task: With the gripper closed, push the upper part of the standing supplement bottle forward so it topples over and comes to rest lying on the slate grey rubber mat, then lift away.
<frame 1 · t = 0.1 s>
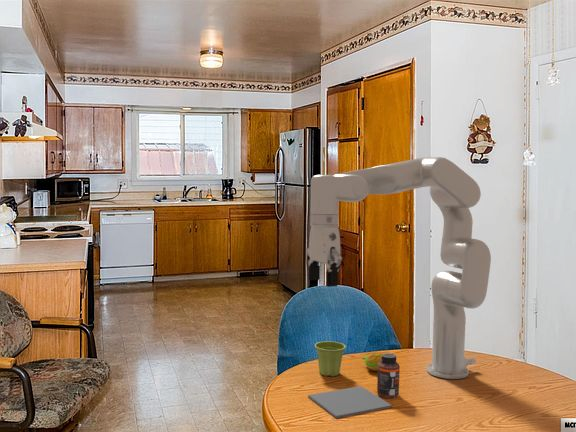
hand: (322, 283, 159), 31 cm above the table, tool pointing down, fingers open, 9 cm apart
supplement bottle: (387, 396, 162), on the table
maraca: (374, 369, 184), on the table
plant pot: (329, 373, 179), on the table
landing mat: (349, 402, 156), on the table
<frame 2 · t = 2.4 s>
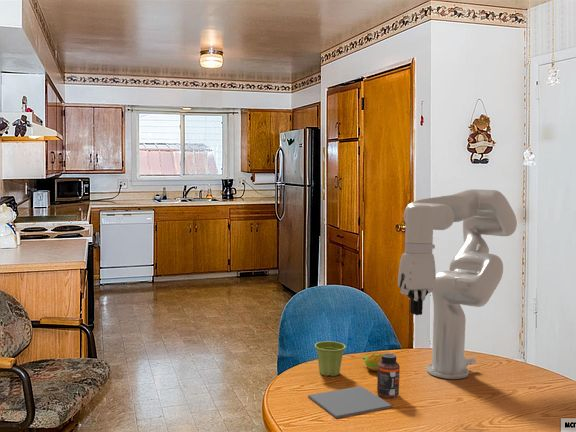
hand: (416, 313, 164), 22 cm above the table, tool pointing down, fingers closed
nothing on the table moved.
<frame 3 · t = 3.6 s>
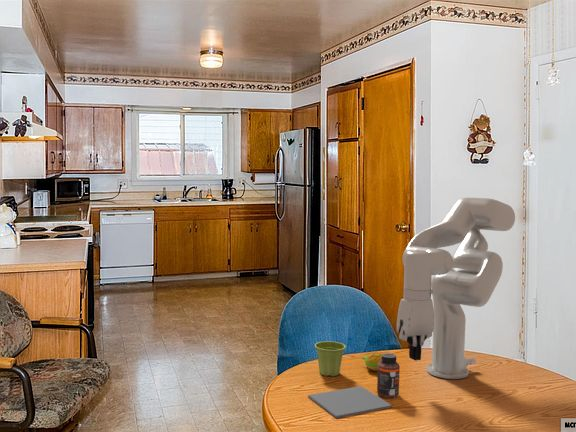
hand: (414, 358, 165), 9 cm above the table, tool pointing down, fingers closed
nothing on the table moved.
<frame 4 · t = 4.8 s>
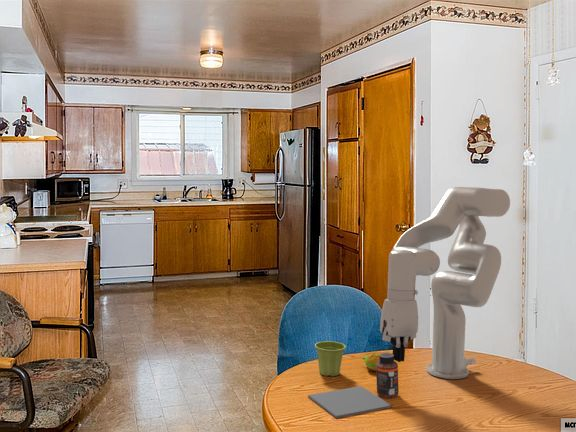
hand: (398, 360, 162), 10 cm above the table, tool pointing down, fingers closed
supplement bottle: (387, 395, 162), on the table, touching gripper
everything else where it was.
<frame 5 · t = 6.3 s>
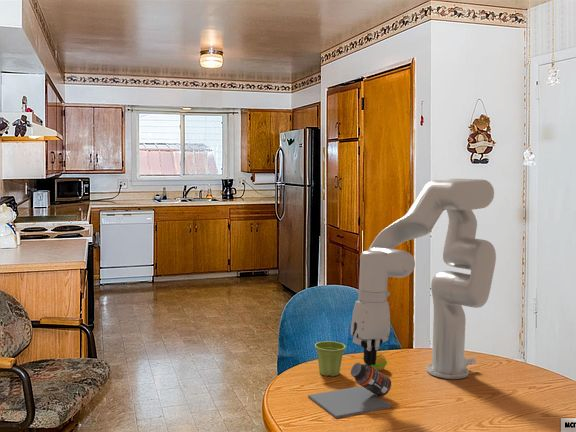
hand: (369, 363, 158), 10 cm above the table, tool pointing down, fingers closed
supplement bottle: (384, 387, 161), point 2 cm above the table, touching gripper
everything else where it was.
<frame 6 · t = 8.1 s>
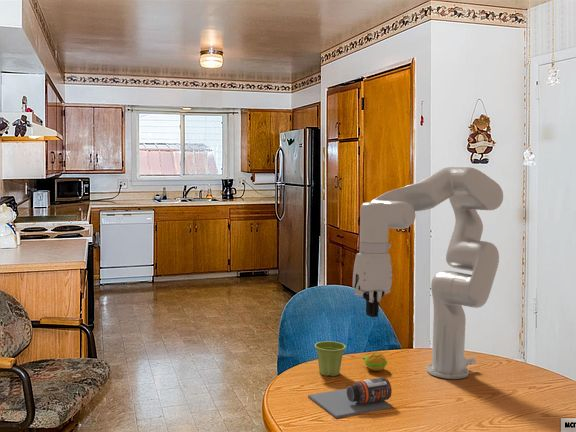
hand: (372, 315, 158), 23 cm above the table, tool pointing down, fingers closed
supplement bottle: (387, 387, 157), point 4 cm above the table, touching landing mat
everything else where it was.
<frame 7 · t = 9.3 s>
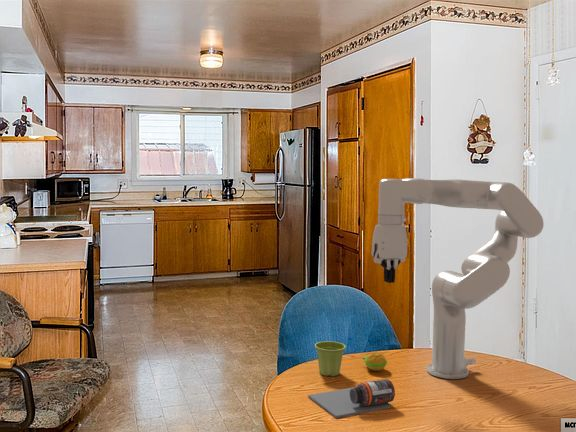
hand: (389, 281, 174), 29 cm above the table, tool pointing down, fingers closed
supplement bottle: (390, 390, 156), point 4 cm above the table, touching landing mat
everything else where it was.
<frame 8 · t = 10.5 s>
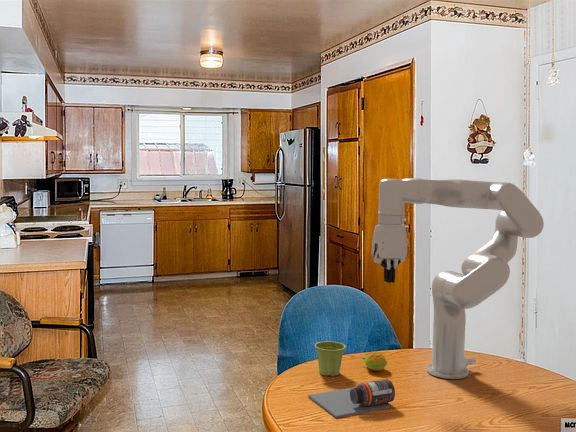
hand: (389, 281, 174), 29 cm above the table, tool pointing down, fingers closed
nothing on the table moved.
at the end: supplement bottle tilted 90°; supplement bottle touching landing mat; the gripper is holding nothing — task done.
